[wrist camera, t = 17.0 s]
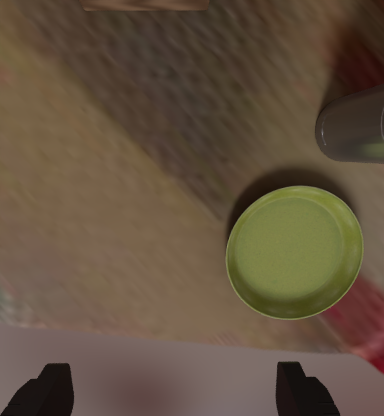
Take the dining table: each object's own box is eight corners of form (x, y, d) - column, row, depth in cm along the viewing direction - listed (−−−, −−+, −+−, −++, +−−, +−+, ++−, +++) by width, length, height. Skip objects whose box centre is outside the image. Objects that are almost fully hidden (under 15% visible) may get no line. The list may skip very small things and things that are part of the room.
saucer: (229, 178, 45) (233, 180, 41) (362, 188, 46) (375, 191, 43) (216, 307, 48) (219, 317, 45) (339, 312, 50) (350, 323, 47)
